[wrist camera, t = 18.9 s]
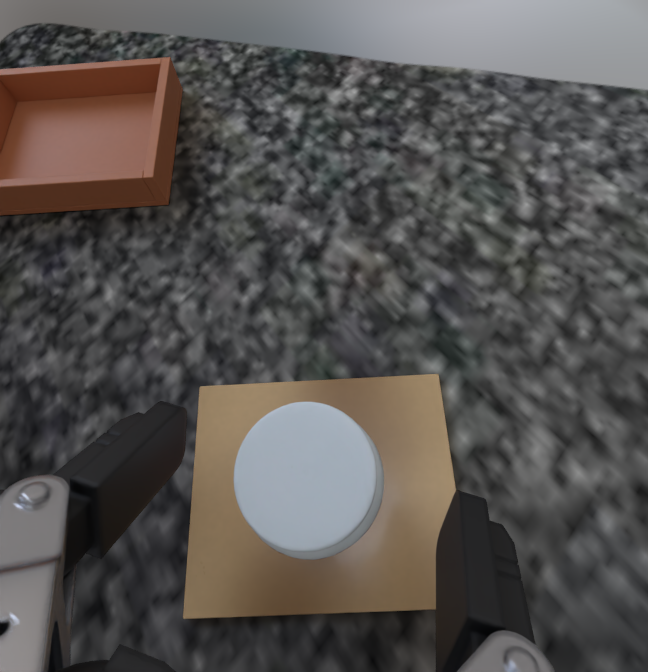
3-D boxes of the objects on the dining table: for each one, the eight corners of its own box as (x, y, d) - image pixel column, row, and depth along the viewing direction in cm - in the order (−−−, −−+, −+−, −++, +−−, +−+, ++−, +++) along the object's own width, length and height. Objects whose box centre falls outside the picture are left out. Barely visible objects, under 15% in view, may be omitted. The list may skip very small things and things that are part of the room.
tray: (-23, 217, 27) (-56, 190, 25) (15, 101, 31) (-11, 69, 29) (168, 205, 27) (152, 177, 24) (183, 89, 31) (170, 56, 28)
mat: (185, 617, 18) (182, 619, 18) (201, 388, 22) (199, 386, 22) (471, 606, 18) (474, 608, 18) (437, 375, 22) (438, 373, 21)
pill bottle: (246, 491, 20) (182, 477, 12) (317, 415, 21) (302, 356, 13) (322, 572, 18) (306, 615, 10) (394, 485, 19) (427, 466, 12)
